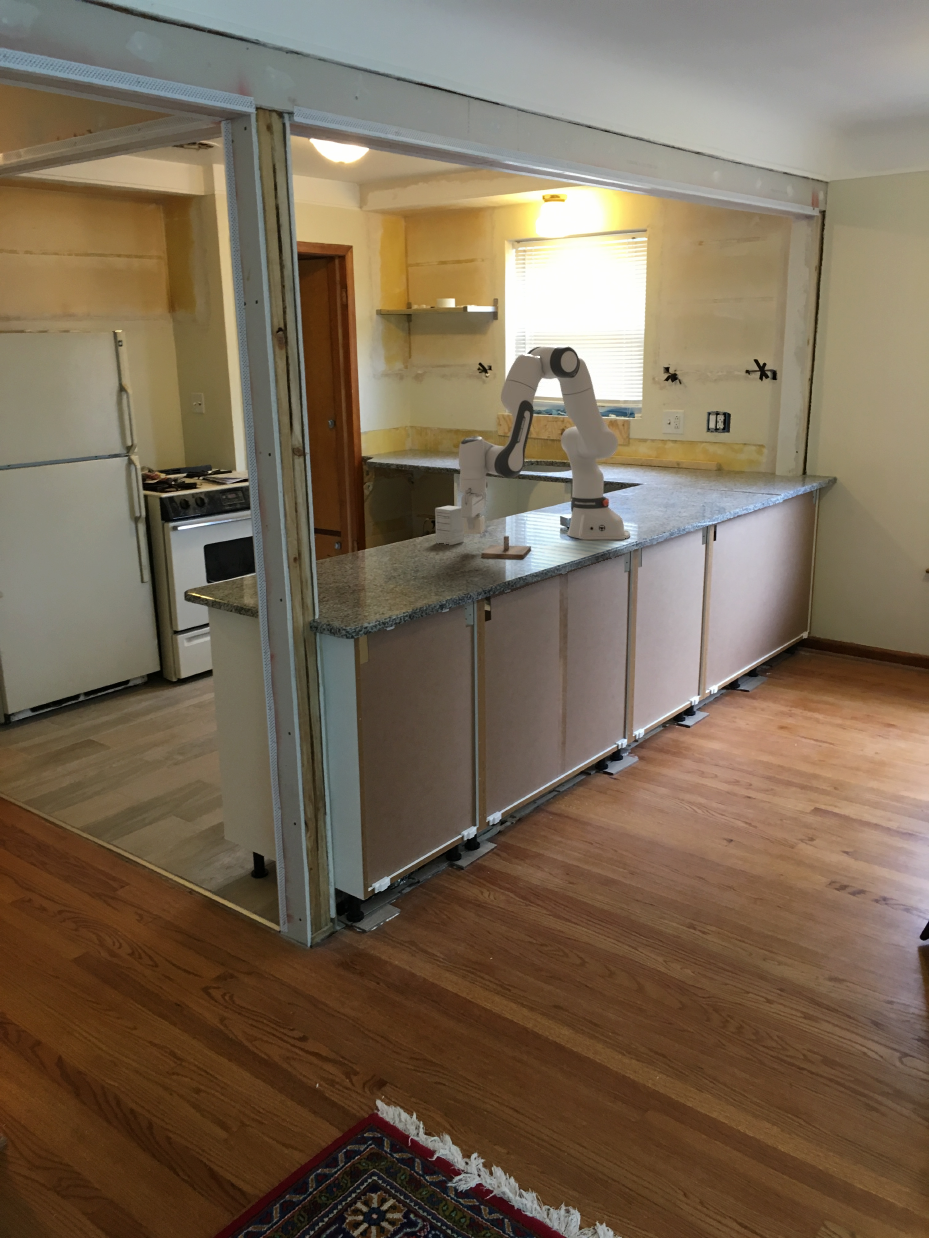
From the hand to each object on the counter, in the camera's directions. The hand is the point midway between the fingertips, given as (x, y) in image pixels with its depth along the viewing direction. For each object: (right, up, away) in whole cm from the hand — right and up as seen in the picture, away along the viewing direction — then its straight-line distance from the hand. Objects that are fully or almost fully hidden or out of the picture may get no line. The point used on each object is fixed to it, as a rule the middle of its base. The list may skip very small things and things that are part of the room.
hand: (474, 527), depth 336 cm
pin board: (+11, -9, -3) cm, 15 cm away
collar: (0, -2, 0) cm, 2 cm away
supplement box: (-8, -4, +18) cm, 20 cm away
